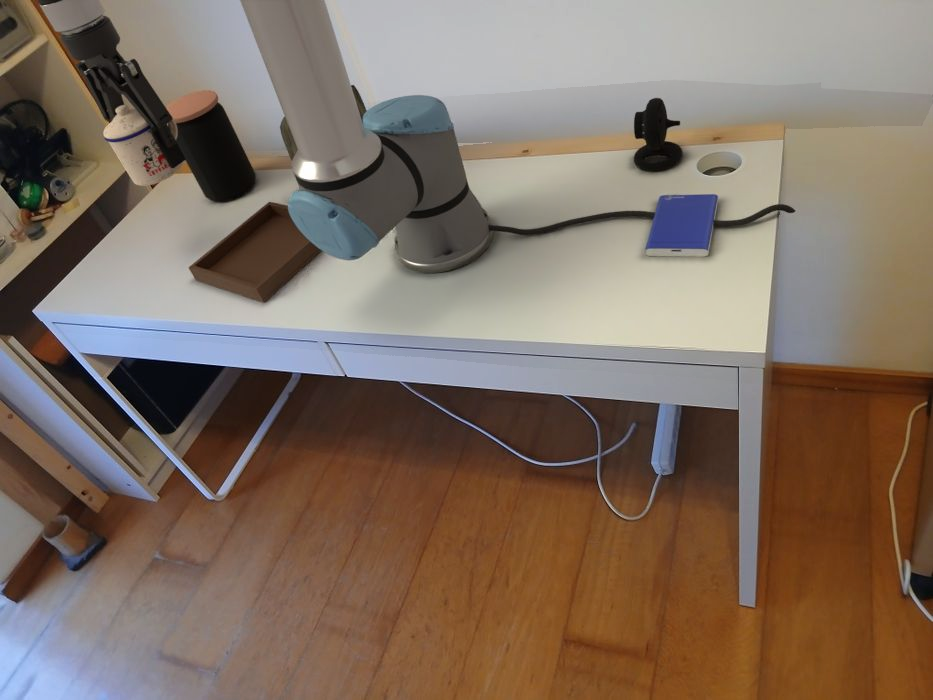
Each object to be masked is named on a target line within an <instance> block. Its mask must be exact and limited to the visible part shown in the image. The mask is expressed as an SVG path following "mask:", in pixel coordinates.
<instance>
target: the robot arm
mask: <svg viewBox="0 0 933 700" xmlns="http://www.w3.org/2000/svg"><path fill="white" fill-rule="evenodd" d="M239 1H240V4H241V6H242V9H243V12H244V14H245V16H246V20H247V22H248V25H249V27H250V29H251V32H252V35H253V37H254V40H255V43H256V45H257V48H258V50H259V53H260V56H261V58H262V61H263V64H264V65H265V68H266V72H267V74H268V76H269V79H270V82H271V84H272V86H273V89H274V92H275V94H276V97H277V99H278V102H279V104H280V107H281V110H282V112H283V115H284V117H285V118H286V120H287V123H288V126H289V128H290V131H291V133H292V136H293V138H294V141H295V144H296V146H297V149H298V151H297V152H296V154H295V156H294V158H293V160H292V161H291V170H292V172H293V176H294V178H295V180H296V183H297V185H298V189H296V190H295V191H293V192H292V193H291V196H290V197H289V200H288V201H287V205H288V210H289V214H290V216H291V218H292V220H293V222H294V223H295V225H296V226H297V228H298V229H299V230H300V231H301V233H302V234H303V235H304V236H305V237H306V238H307V239H308V240H309V241H310V242H312V243H313V244H314V245H315V246H317V247H318V248H319V249H321V250H322V251H321V252H324V253H325V254H327V255H329V256H331V257H333V258H336V259H338V260H343V261H355V260H358V259H361V258H363V256H365V255H366V254H367V253H369V252H370V251H371V250H372V249H375V248H377V247H378V245H379V244H380V242H381V241H382V240H383V239H384V238H385V237H386V236H387V235H388V234H389V233H390V232H391V231H393V234H394V248H395V251H396V254H397V258H398V260H399V261H400V263H401V265H403V267H405V268H407V269H408V270H411V271H413V272H416V273H423V274H436V273H444V272H448V271H452V270H455V269H458V268H461V267H463V266H466V265H467V264H470V263H471V262H473V261H475V260H476V259H477V258H478V257H480V256H482V254H483V253H484V252H485V251H486V250H487V249H488V248H489V246H490V245H491V243H492V241H493V238H494V232H500V233H508V234H514V235H520V236H533V235H540V234H545V233H549V232H550V233H551V232H553V231H556V230H559V229H564V228H567V227H571V226H576V225H580V224H585V223H590V222H596V221H600V220H607V219H614V218H631V217H632V218H633V217H634V218H649V219H654V215H655V211H647V210H617V211H609V212H603V213H597V214H593V215H586V216H581V217H577V218H572V219H571V218H570V219H568V220H564V221H561V222H557V223H554V224H550V225H547V226H542V227H536V228H519V227H512V226H505V225H496V224H492V221H491V218H490V216H489V214H488V212H487V211H486V209H484V208H483V206H482V205H481V203H480V201H479V200H478V198H477V197H476V195H475V194H474V193H473V191H472V190H471V188H470V184H469V182H468V178H467V174H466V170H465V167H464V163H463V158H462V155H461V150H460V147H459V144H458V140H457V136H456V132H455V125H454V123H453V122H452V119H451V116H450V113H449V111H448V108H447V106H446V105H445V102H444V101H442V100H441V99H439V98H438V97H434V96H432V95H424V94H413V95H403V96H399V97H393V98H391V99H387V100H384V101H382V102H379V103H377V104H375V105H373V106H372V107H370V108H368V110H367V111H366V113H365V114H364V116H363V123H362V120H361V116H360V113H359V110H358V107H357V103H356V100H355V97H354V94H353V91H352V87H351V85H352V84H351V81H350V78H349V74H348V71H347V68H346V65H345V62H344V59H343V55H342V52H341V49H340V46H339V42H338V40H337V36H336V33H335V30H334V26H333V24H332V21H331V17H330V13H329V10H328V7H327V4H326V0H239ZM37 2H38V4H39V7H40V8H41V10H42V12H43V14H44V15H45V16H46V17H45V18H47V21H49V23H50V25H51V26H52V29H53V30H54V32H57V33H60V37H59V39H60V40H61V42H62V44H63V45H64V47H65V49H66V51H67V53H68V54H69V55H70V57H71V59H73V60H74V61H79V62H77V63H76V64H75V67H76V69H77V70H78V72H79V73H80V75H81V76H82V78H83V79H84V81H85V83H86V85H87V87H88V89H89V92H90V93H91V95H92V97H93V100H94V101H95V103H96V105H97V107H98V110H99V111H100V113H101V115H102V118H103V119H104V120H105V122H109V121H110V123H111V122H112V120H113V118H114V117H115V116H116V115H117V113H116V108H117V107H119V106H121V105H125V101H124V99H123V96H124V97H125V98H126V100H127V101H128V102H129V103H130V104H131V106H132V107H133V109H136V110H137V111H138V113H139V114H140V115H141V116H142V117H143V119H144V120H145V121H146V122H147V123H148V125H149V126H150V127H151V129H150V130H149V132H150V133H151V134H152V136H153V138H154V139H155V141H156V143H157V145H158V146H159V148H160V150H161V151H162V153H163V155H164V157H165V158H166V160H167V162H168V164H169V165H170V167H171V168H175V167H176V166H178V165H179V164H180V163H182V162H186V158H185V156H184V155H183V153H182V151H181V149H180V147H179V146H178V144H177V142H176V140H175V138H174V137H173V135H172V133H171V131H170V129H169V128H168V123H169V122H170V121H171V120H173V118H172V116H171V115H170V113H169V112H168V110H167V109H166V105H165V104H164V103H163V101H162V100H161V98H160V97H159V95H158V94H157V92H156V91H155V89H154V88H153V87H152V85H151V83H150V82H149V80H148V79H147V78H146V76H145V75H144V73H143V71H142V69H141V66H140V64H139V63H138V61H137V60H136V59H135V58H132V59H130V60H128V61H127V60H125V58H124V57H123V56H122V55H121V54H120V52H119V51H118V50H117V47H118V45H119V44H120V42H121V36H120V34H119V32H118V31H117V29H116V28H115V25H114V23H113V22H112V20H111V18H110V17H108V16H107V15H104V14H105V12H106V10H105V8H104V7H103V4H102V2H101V1H100V0H37ZM122 95H123V96H122ZM182 164H183V163H182ZM778 211H782V212H785V213H787V214H794V213H796V210H795V208H794V207H792V206H790V205H788V204H783V203H776V204H772V205H770V206H767V207H765V208H763V209H761V210H759V211H757V212H755V213H754V214H751V215H749V216H747V217H743V218H740V219H731V220H728V219H727V220H719V219H715V220H714V221H713V227H717V228H719V227H720V228H732V227H733V228H735V227H740V226H741V227H742V226H745V225H748V224H751V223H754V222H755V221H758V220H760V219H761V218H763V217H765V216H767V215H769V214H771V213H773V212H778Z"/></svg>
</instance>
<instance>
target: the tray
mask: <svg viewBox="0 0 933 700" xmlns="http://www.w3.org/2000/svg"><path fill="white" fill-rule="evenodd" d="M321 252H323V251H322V250H321V249H319V248H318V247H317V246H315V245H314V244H313V243H312V242H310V241H309V240H308V239H307V238H306V237H305V236H304V235H303V234H302V233H301V231H300V230H299V229H298V228H297V226H296V225H295V223H294V222H293V220H292V218H291V216H290V214H289V210H288V204H283V203H278V202H273V201H268V202H266V204H264V205H263V206H262V207H261V208H259V209H258V210H257V211H256V212H254V213H253V214H252V215H251V216H250V217H248V218H247V219H246V220H245V221H244V222H242V223H241V224H240V225H239V226H238V227H236V228H235V229H233V230H232V231H231V232H230V233H229V234H227V235H226V236H225V237H224V238H222V239H221V240H220V241H219V242H218V243H216V244H215V245H214V246H213V247H211V248H210V249H209V250H208V251H206V252H205V253H204V254H203V255H202V256H200V257H199V258H198V259H197V260H196V261H194V262H193V263H191V265H189V266H188V270H189V271H190V273H191V275H192V277H193V278H194V280H195V281H196V282H200V283H203V284H205V285H208V286H212V287H215V288H218V289H220V290H224V291H227V292H230V293H233V294H236V295H240V296H242V297H245V298H248V299H251V300H254V301H257V302H260V303H263V304H264V303H265V302H267V301H268V300H269V299H270V298H271V297H273V295H275V293H277V292H278V291H279V290H280V289H281V288H282V287H283V286H284V285H285V284H287V283H288V282H289V281H290V280H291V279H292V278H293V277H294V276H295V275H296V274H298V273H299V272H300V271H301V270H302V269H303V268H304V267H305V266H306V265H307V264H308V263H310V262H311V261H312V260H313V259H314V258H315V257H317V256H318V255H319V253H321Z"/></svg>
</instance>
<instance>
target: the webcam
mask: <svg viewBox="0 0 933 700" xmlns="http://www.w3.org/2000/svg"><path fill="white" fill-rule="evenodd" d="M679 126H681V120H673V119H669V118H668V112H667V108H666V104H665V102H664V100H663V98H661V97H654V98H651V99H649V100H648V102H647V104H646V106H645V109H644V110H642V111H636V112H635V114H634V118H633V133H634V138H635V139H636V140H644V141H645V145H643V146H641V147H640V148H638V149H637V150H636V152H635V153H634V156H633V162H634V164H635V166H636V167H638V168H639V169H641V170H643V171H646V172H661V171H666V170H669V169H672V168H673V167H675V166H677V164H679V163H680V162H681V160H682V159H683V149H682V147H681V145H679V144H677V143H675V142H673V141H667V139H666V138H667V134H668V129H669V128H673V127H679ZM650 157H651V158H652V157H665V158H666V159H663V160H660V161H649V160H646V159H647V158H650Z"/></svg>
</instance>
